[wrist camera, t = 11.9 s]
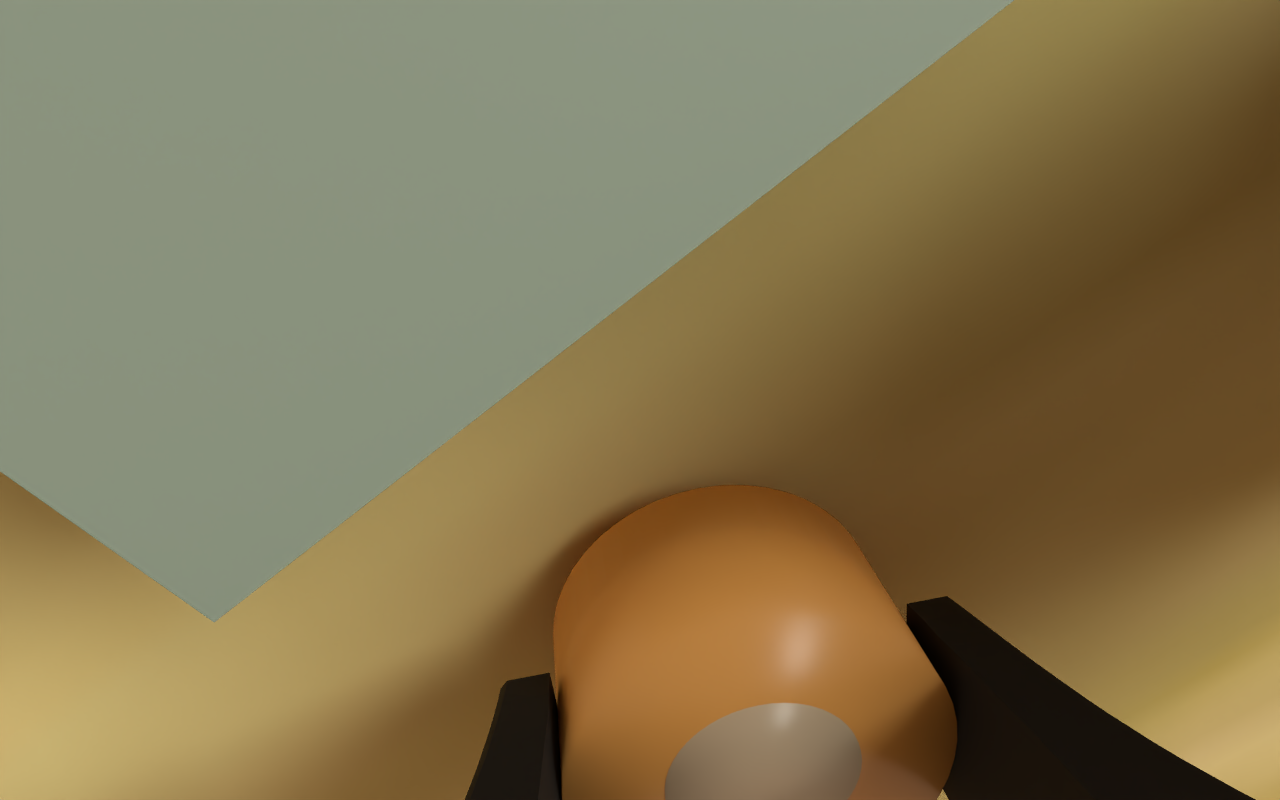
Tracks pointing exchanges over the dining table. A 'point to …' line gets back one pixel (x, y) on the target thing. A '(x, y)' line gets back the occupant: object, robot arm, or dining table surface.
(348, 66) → the lid
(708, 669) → the orange dome grey spot
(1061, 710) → the robot arm
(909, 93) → the dining table surface
